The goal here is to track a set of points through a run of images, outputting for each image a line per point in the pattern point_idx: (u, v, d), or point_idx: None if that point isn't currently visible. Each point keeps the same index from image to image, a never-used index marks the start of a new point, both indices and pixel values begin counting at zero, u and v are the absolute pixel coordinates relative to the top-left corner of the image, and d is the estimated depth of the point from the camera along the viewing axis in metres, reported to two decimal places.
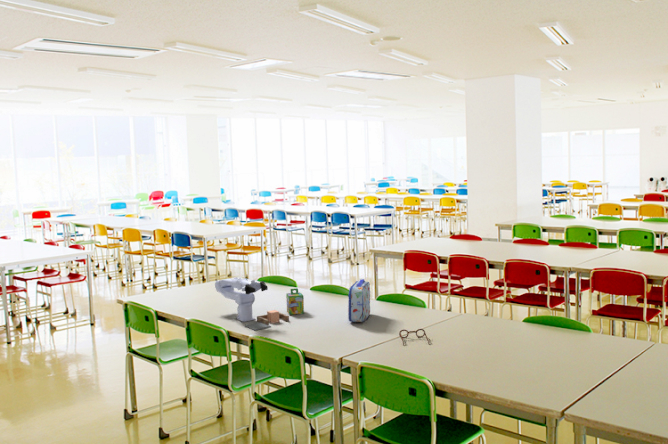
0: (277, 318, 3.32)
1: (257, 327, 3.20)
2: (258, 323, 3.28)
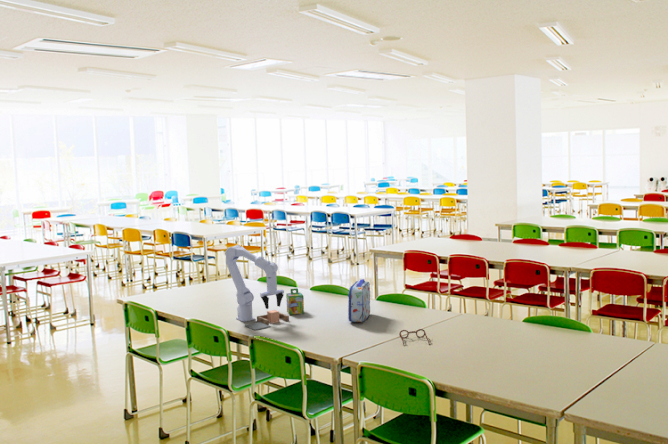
0: (277, 318, 3.32)
1: (257, 327, 3.20)
2: (258, 323, 3.28)
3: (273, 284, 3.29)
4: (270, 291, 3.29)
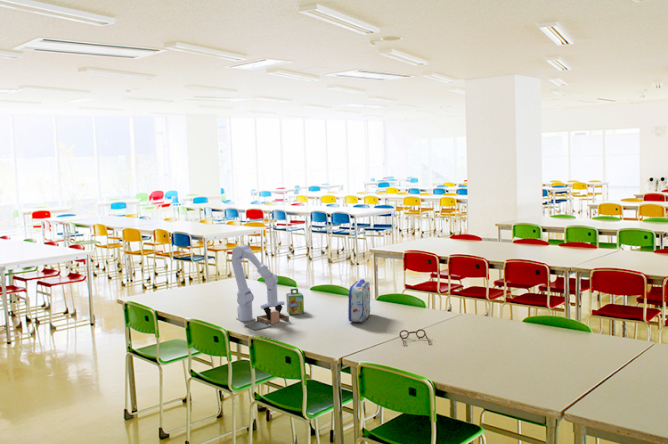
0: (277, 318, 3.32)
1: (257, 327, 3.20)
2: (258, 323, 3.28)
3: (274, 296, 3.30)
4: (271, 303, 3.30)
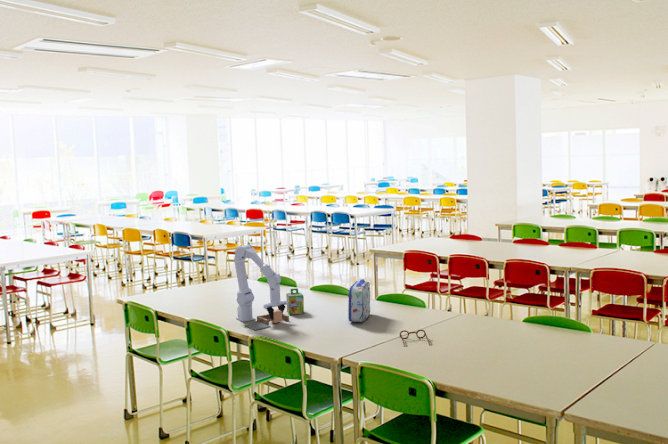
0: (280, 318, 3.30)
1: (257, 327, 3.20)
2: (258, 323, 3.28)
3: (276, 295, 3.27)
4: (273, 302, 3.27)
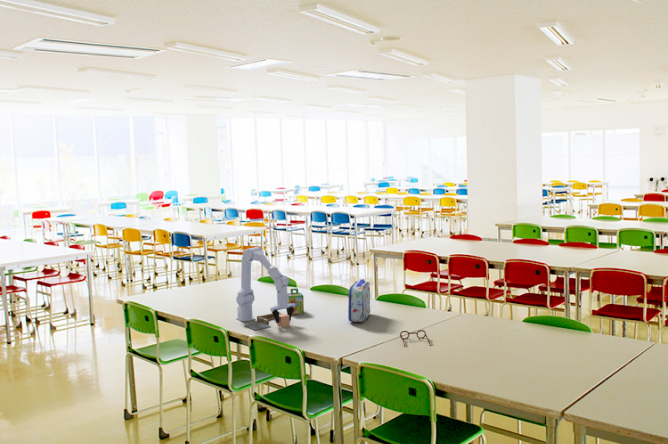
0: (287, 322, 3.23)
1: (257, 327, 3.20)
2: (258, 323, 3.28)
3: (282, 298, 3.20)
4: (281, 305, 3.21)
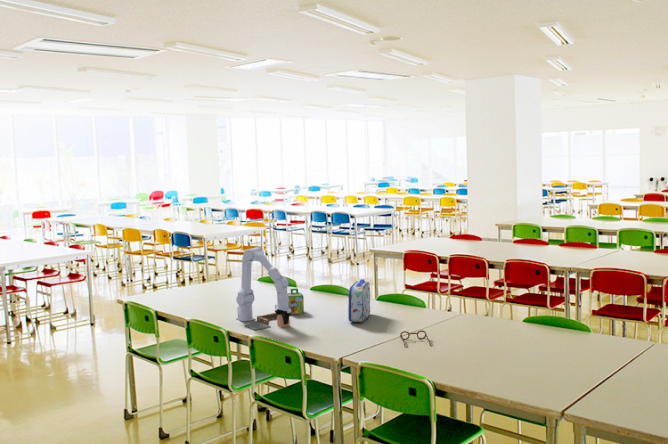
0: None
1: (257, 327, 3.20)
2: (258, 323, 3.28)
3: (283, 299, 3.20)
4: None
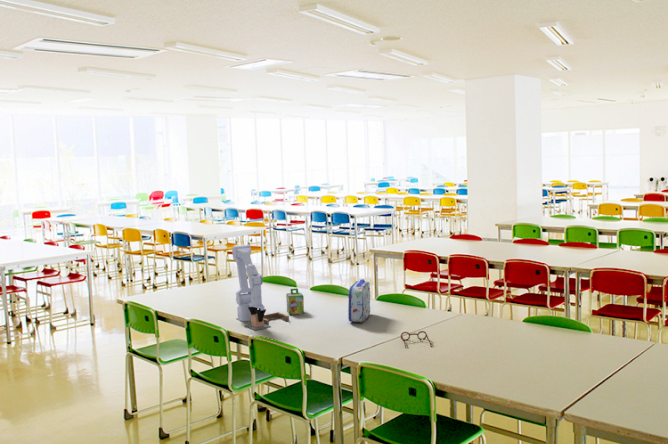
0: (261, 322, 3.23)
1: (257, 327, 3.20)
2: None
3: (254, 297, 3.20)
4: None
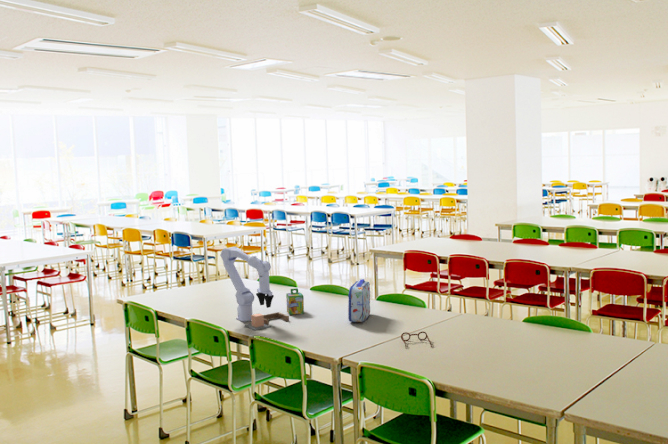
0: (261, 322, 3.23)
1: (257, 327, 3.20)
2: None
3: (265, 283, 3.28)
4: None
